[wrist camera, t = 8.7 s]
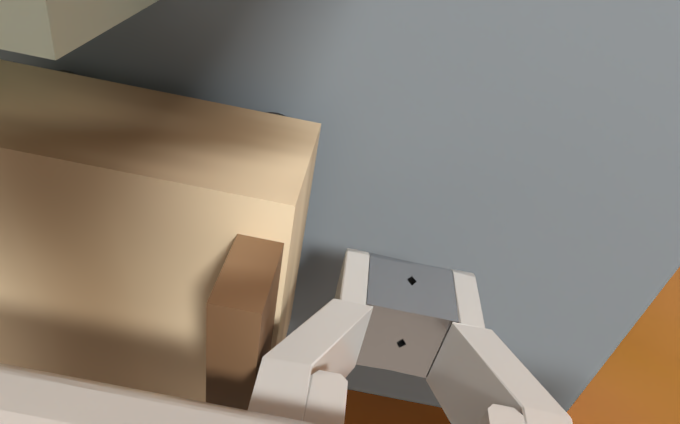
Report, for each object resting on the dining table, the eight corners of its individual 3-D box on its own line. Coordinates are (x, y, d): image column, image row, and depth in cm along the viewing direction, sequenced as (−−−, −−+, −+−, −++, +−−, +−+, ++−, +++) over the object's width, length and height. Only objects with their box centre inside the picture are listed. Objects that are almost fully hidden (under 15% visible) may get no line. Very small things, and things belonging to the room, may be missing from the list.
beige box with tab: (326, 105, 11) (274, 274, 7) (296, 294, 15) (248, 487, 10) (14, 43, 11) (-252, 171, 7) (60, 247, 15) (-93, 421, 10)
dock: (840, -5, 10) (1154, 92, 6) (546, 403, 18) (588, 563, 14) (-393, -264, 9) (-1000, -355, 5) (-118, 273, 18) (-274, 398, 14)
